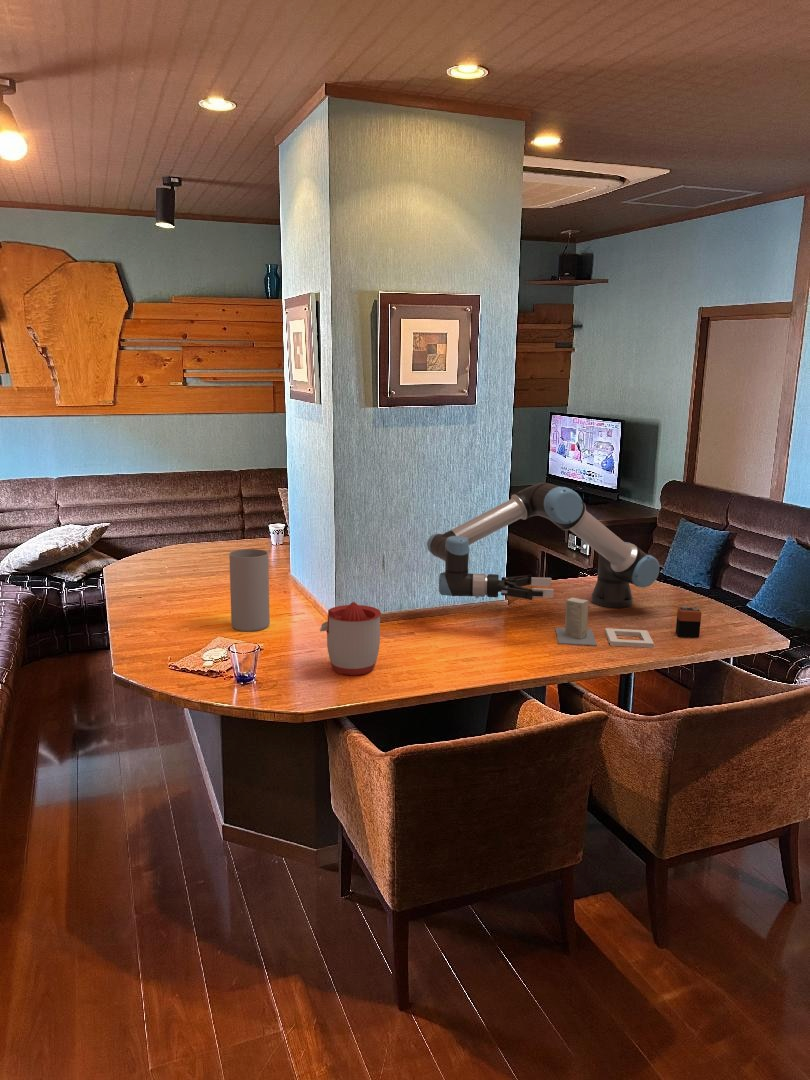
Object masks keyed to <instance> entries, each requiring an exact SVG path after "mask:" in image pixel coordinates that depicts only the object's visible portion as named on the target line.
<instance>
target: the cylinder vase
mask: <svg viewBox="0 0 810 1080" xmlns="http://www.w3.org/2000/svg"><path fill="white" fill-rule="evenodd" d="M228 556H229V557H228V558H229V559H228V560H229V585H230V586H229V587H230V591H229V593H230V618H231V620H230V624H231V627H232V628H233V629H234V628H235V629H234V630H236V629H237V630H236V631H239V630H241V631H240V632H247V631H250V632H259V631H262V630H265V629H267V628H268V627H269V626H270V622H271V621H270V582H269V581H270V577H269V576H270V575H269V573H270V572H269V571H270V569H269V566H270V565H269V563H270V562H269V552H268V550H264V549H259V548H258V549H257V548H245V549H244V548H243V549H237V550H233V551H230V552H229V555H228Z"/></svg>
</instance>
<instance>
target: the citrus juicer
mask: <svg viewBox="0 0 810 1080" xmlns="http://www.w3.org/2000/svg"><path fill="white" fill-rule="evenodd" d="M381 615H382V612H381V610H380V609H379V608H377V607H374V606H370V605H363V604H358V603H357V602H356V601H354V602H353V601H352V602H350V603H349V604H346V605H338V606H333V607H330V608H329V609H328V611H327V621H325V622H323V623H322V624H321V626H320V628H319V632H325V631H326V642H327V643H326V647H327V653H328V658H329V660H330V665H331V668H332V669H333V671H335V672H336V673H338V674H339V675H347V676H349V675H351V676H358V675H359V676H360V675H365V674H368V673H370V672H372V671H373V670H374V668H375V667H376V663H377V659H378V657H379V650H380V643H381V640H380V639H381V636H380V635H381Z"/></svg>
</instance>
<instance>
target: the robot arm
mask: <svg viewBox="0 0 810 1080" xmlns="http://www.w3.org/2000/svg"><path fill="white" fill-rule="evenodd" d="M586 507H587V506H586V503H585V502H584V501H583V500H582V498H581V496H580V494H578V493H577V492H576V491H575V490H573V489H572V488H569V487H566V486H560V485H556V484H552V483H549V482H539V483H536V484H533V485H531V486H528V487H526V488H524V489H522V490H520V491H518V492H516V493H514V494H512V495H510V499H509V500H507V501H505V502H503V503H501V504H499V505H497V506H495V507H493V508H491V509H489V510H487V511H485V512H483V513H481V514H479V515H478V516H475V517H474V518H471V519H470V520H468V521H466V522H464V523H462V524H460V525H458V526H456V527H454V528H452V529H450V530H448V531H447V532H444V533H434V534H432V535H430V537H429V538H428V539H427V542H426V548H427V550H428V551H429V553H431V554H432V556H434V557H436V558H439V560H442V561H444V562H445V565H444V569H445V571H444V572H440V574H439V577H438V592H439V594H440V595H441V596H450V597H475V598H476V599H478V598H481V597H482V598H483V597H488V598H498V597H499V593H500V595H501V596H507V597H512V598H513V597H514V598H520V599H526V600H529V601H532V600H533V598H547V599H549V598H551V599H553V598H554V595H555V594H554V593H555V592H554V591H555V590H554V588H535V587H552V577H533V576H532V574H528V575H517V576H516V575H515V576H502V577H501V580H500V579H499V578H500V577H499V576H500V575H499V574H493V573H488V574H487V575H486V573H469V558H470V557H469V554H470V545H471V544H474V543H476V542H478V541H480V540H482V539H484V538H485V537H488V536H489V535H491V534H493V533H495V532H497V531H499V530H502V529H503V528H505V527H507V526H510V525H511V524H513V523H515V522H517V521H519V520H523V521H524V520H528V519H529V518H531V517H537V516H539V517H541V518H545V519H547V520H549V521H551V522H552V523H553V524H554V525H556V526H557V527H558V528H559V529H561V530H562V531H570V532H571V533H573V534H574V535H576V536H577V537H578V538H579V539H581V541H583V542H584V543H585V544H587V545H588V546H589V547H590V548H592V549H593V550H594V551H595V552H596V553H598V562H597V563H598V564H597V565H598V566H597V578H596V579H597V581H596V583H595V586H594V588H593V590H592V592H591V596H590V601H591V602H592V603H593V604H594V605H597V606H600V607H604V608H613V609H619V608H628V607H631V606H632V605H633V602H634V601H633V599H634V597H633V594H632V590H631V585H633V586H635V587H637V588H638V587H639V588H647V587H649V586H651V585H653V584H654V583H655V582H656V581H657V579H658V577H659V574H660V563H659V561H658V559H657V558H656V557H654V556H653V555H651V554H647V553H646V552H644V551H643V550H642V549H640V548H639V547H638V546H637V545H635V544H633V543H631V542H629V541H628V542H627V541H624V540H622V539H621V538H620V537H619V536H617V534H615V533H614V532H613V531H611V530H610V529H609V528H608V527H607V526H606V525H605V524H603V523H602V522H600V521H599V520H598V519H597V518H596V517H595V516H594V515H592V514H591V513H590V512H589V511H587V509H586ZM630 584H631V585H630ZM530 585H531V586H532V588H528V587H526V586H530Z"/></svg>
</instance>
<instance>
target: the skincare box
mask: <svg viewBox="0 0 810 1080" xmlns="http://www.w3.org/2000/svg"><path fill="white" fill-rule="evenodd" d="M564 617H565V618H564V620H565V621H564V628H565V635H566V636H570V637H574V638H579V639H582V638H584V637H586V636H587V629H588V623H589V622H588V619H589V600H587V599H583V598H578V597H577V598H576V597H574V596H572V597H569V598H568V599H565V615H564Z"/></svg>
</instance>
